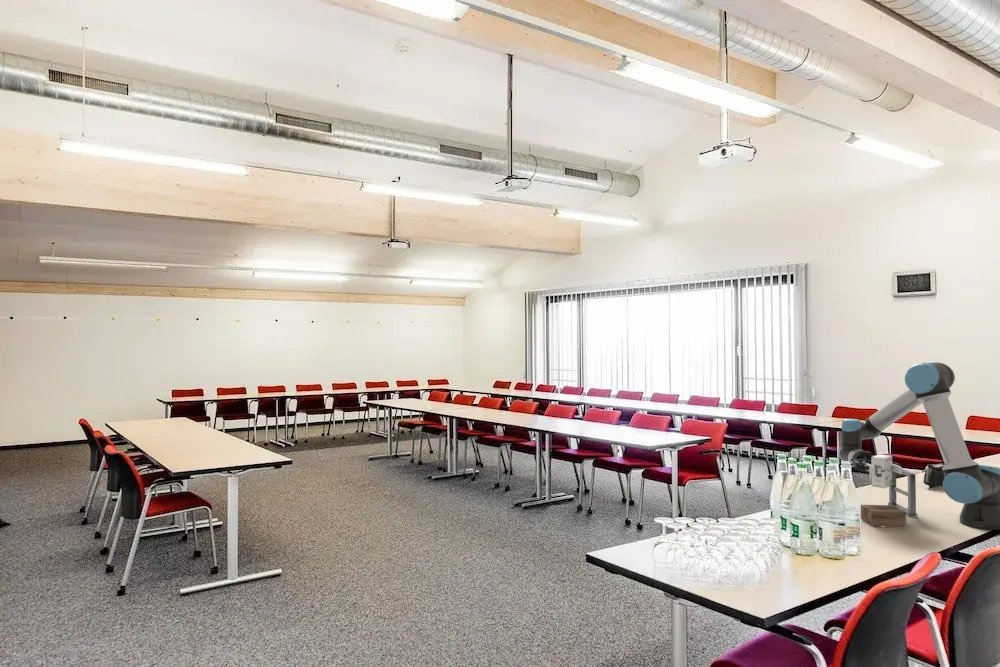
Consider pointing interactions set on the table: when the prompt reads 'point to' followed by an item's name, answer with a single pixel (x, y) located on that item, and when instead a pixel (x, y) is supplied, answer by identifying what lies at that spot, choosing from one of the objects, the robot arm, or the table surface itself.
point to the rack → (904, 493)
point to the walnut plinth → (883, 515)
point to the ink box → (882, 471)
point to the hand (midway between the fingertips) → (887, 470)
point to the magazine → (934, 476)
